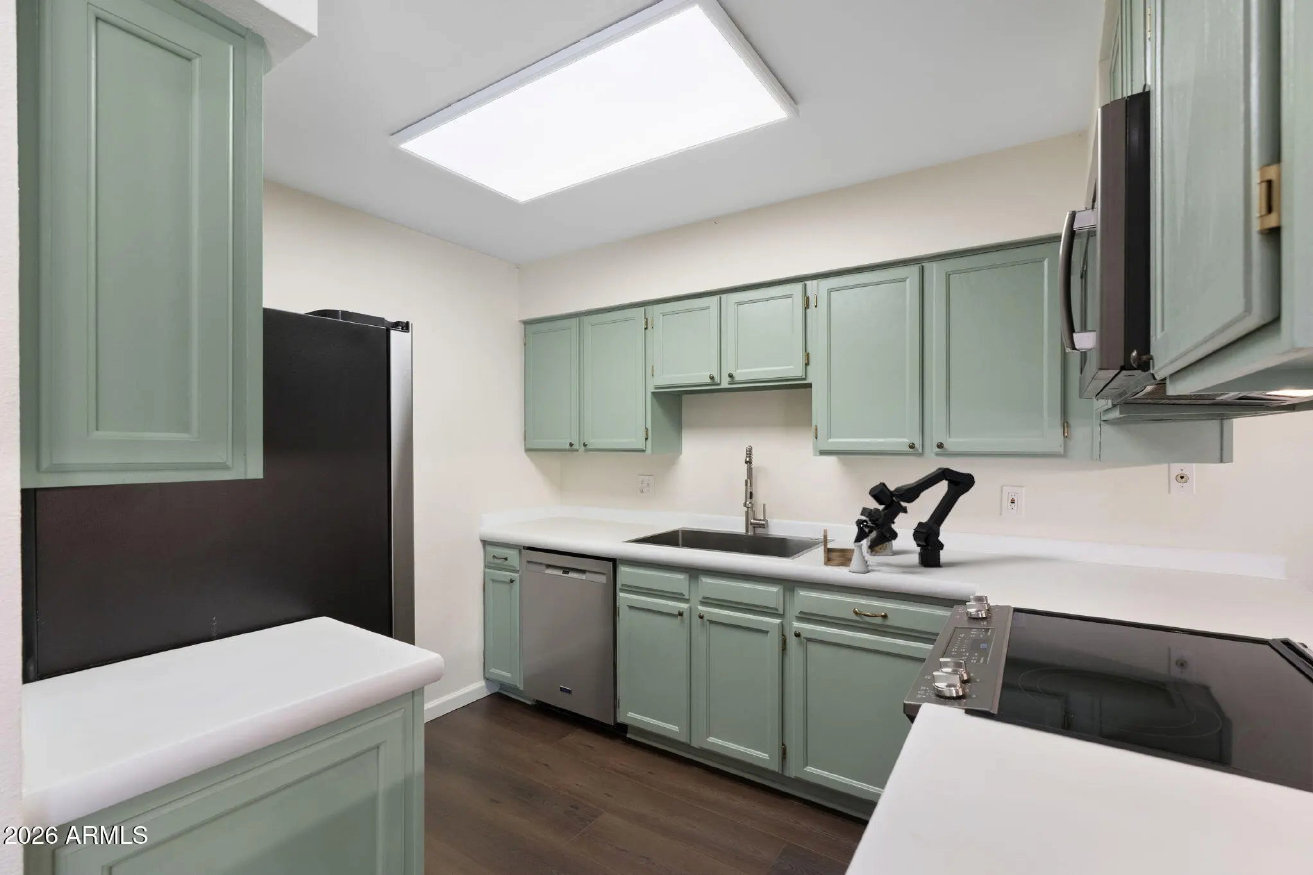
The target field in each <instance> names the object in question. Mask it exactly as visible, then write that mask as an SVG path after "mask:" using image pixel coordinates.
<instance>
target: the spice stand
mask: <svg viewBox="0 0 1313 875" xmlns="http://www.w3.org/2000/svg"><path fill="white" fill-rule="evenodd" d="M822 534H823V535H822V537H823V566H824V565H831V566H830V567H847V568H848V567H850V564H851V561H852V558H853V555H854V550H855V548H851V547H850V548H848V547H847V548H845V547H828V529H823V533H822ZM863 556H864V559H865V561H866V557H865V555H863ZM866 562H867V561H866Z"/></svg>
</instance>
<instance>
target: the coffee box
mask: <svg viewBox="0 0 1313 875" xmlns="http://www.w3.org/2000/svg"><path fill="white" fill-rule="evenodd" d="M864 519H865V520H867V521H868V519H869V518H866V517H864ZM868 522H869V521H868ZM869 523H870V524H871V522H869ZM891 527H892V528H893V524H891ZM875 536H876V531H874V532H873V533H872V534H870V536H869V537H868V538H866V539H865V542H866V554H867V555H869V557H873V556H874V557H875V556H879V557H880V556H881V557H882V556H883V557H884V556H887V557H888V556H894V554H893V553H894V550H893V548H894V547H893V546H894V545H893V540H892V541H891V542H887V543H885V544H882V545H880V546H877V547H875V548H873V549H869V548H868V546H869V544H870V543H871V541H872V540H873V539H874V537H875Z"/></svg>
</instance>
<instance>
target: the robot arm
mask: <svg viewBox="0 0 1313 875" xmlns="http://www.w3.org/2000/svg"><path fill="white" fill-rule="evenodd" d="M943 481H945V482H946V483H947V485H946V486H947V487H946V488H947V490H946V491H945V493H944V495H943V496H942V498H941V499H940V500H939V502H938V503H937V505H936V506H935V508H934V509H933V511H932V512H931V514H930V516H929V517H928V519H927V520H926V521H918V522H917V524H916V526H915V527H914V528H913V532H912V535H911V536H912V540H913V541H914V543H915V546H916V547H917V548H919V551H918V554H917V556H918V559H917V560H918V564H919V565H920V566H922V567H924V568H943V565H942V564H941V551H944V548H945V544H944V543H943V542H942V541H941V539H939V538H940V536H941V527H942V525H943V524H944V522H945V520H946V519H947V518H948V516H949V515H950V513H951V511H952V510H953V509H954V507H955V505H956V503H957V502H959V501H958V500H960V497H963V495H966V494H967V493H968V492H970V491H971V490H972V488H974V487H975V484H976V479H975V476H974V475H973V474H972V473H970V472H961V471H958V470H954V469H952V468H950V467H944V466H943V467H938V468H936V469H935V470H934V471H932V472H930V473H928V474H926V475H924V476H923V477H921V478H918V479H917V480H915V481H913V482H910V483H906V484H905V483H904V484H902V485H900V486H896V487H895V488H894V489H893V490H892V489H890V488H889V486H888V485H887V484H886V483H885V482H882V481H880V482H879V483H877V484H875V485H874V486H873V487H870V489H869V490H868V495H869V496H870V497H871V498H872V499H873V501H875V503H876V504H877V505H878V506H881V507H882V509H880V508H878V507H873V508H871V507H866V506H862V508H861V511H860V513H859V516H861V517H864V518H857V519H856V520H855V522H854V523H855V526H856V527H857V531H856V534H855V535H856V536H855V538H854V541H853V545H854V543H863V541H864V540H865V541H866V538H868V537H869V536H870V534H872V533H873V532H874V531H876V536H875V537H874V539H873V540H872V541H871V543H870V544H869V546H868V548H869V549H873V548H875V547H877V546H880V545H882V544H885V543H887V542H891V541H892V542H894V541H896V540H897V538H898V537H899V533H898V532H897V531H896V529H895V528H893V525H895V524H896V521H895V520H896V519H897V517H899V515H900V514H906V515H907V514H909V512H908V506H907V505H903V504H912V503H914V502H915V501H917V500H918V499H919V498H920V497H921V495H922V494H923V493H924V492H925V491H928V490H929V489H931V488H933V487H934V486H936V485H937V484H940V483H941V482H943ZM902 503H903V504H902ZM865 517H866V518H869V519H868V521H869V522H871V524H870V523H869V522H868V521H867V520H866V518H865ZM891 524H892V527H891Z"/></svg>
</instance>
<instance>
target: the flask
mask: <svg viewBox="0 0 1313 875" xmlns="http://www.w3.org/2000/svg"><path fill="white" fill-rule="evenodd" d="M853 543H854V542H853ZM863 544H864V543H863V542H860V543H854V544H853V546H854V549H855V550H854V555H853V558H852V561H851V564H850V567H849V568H848V572H850V573H855V574H858V573H859V574H865V573H869V572H870V570H869V566H868V564H867V561H865V560H866V558H865V559H864V556H865V555H864V552H863Z"/></svg>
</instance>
